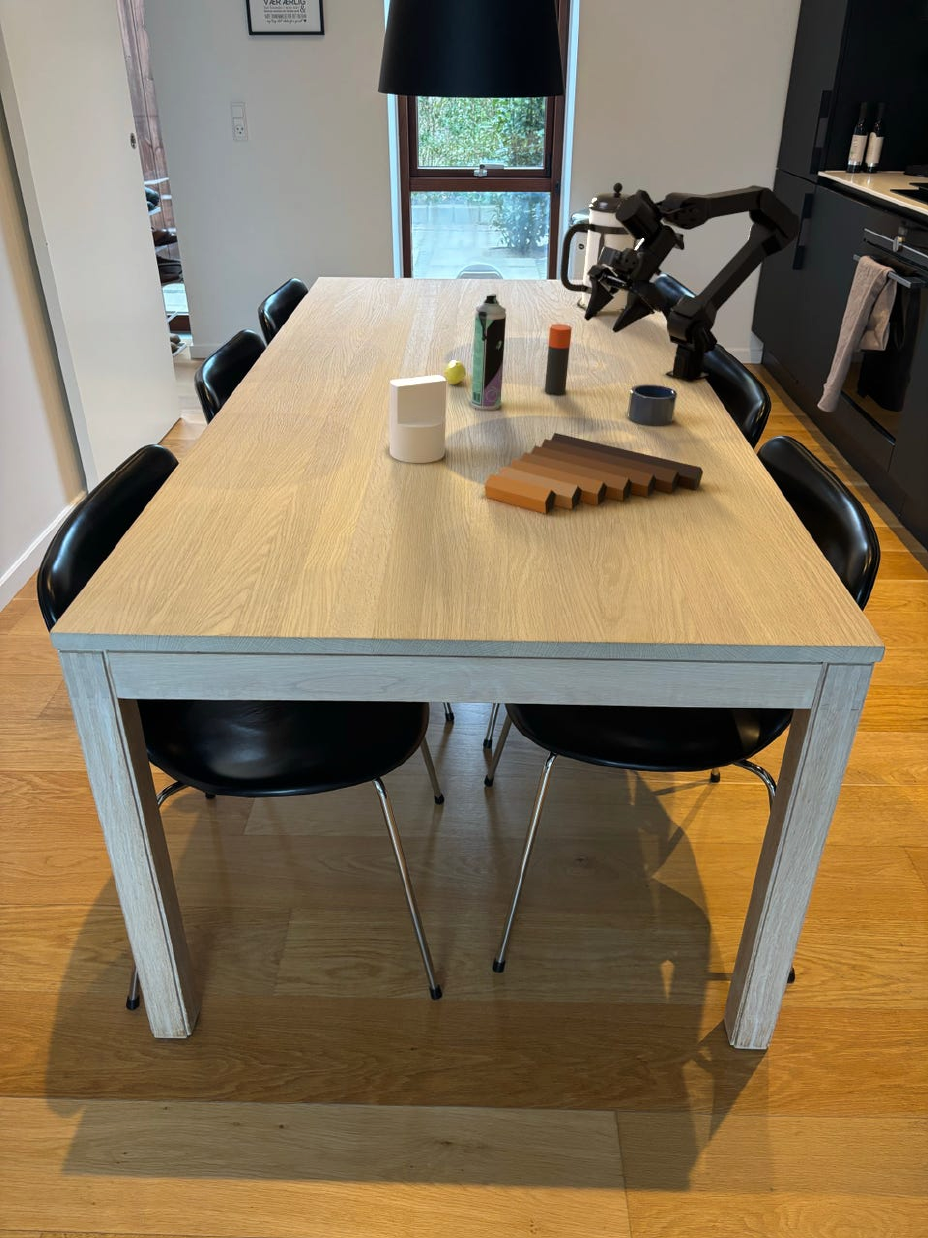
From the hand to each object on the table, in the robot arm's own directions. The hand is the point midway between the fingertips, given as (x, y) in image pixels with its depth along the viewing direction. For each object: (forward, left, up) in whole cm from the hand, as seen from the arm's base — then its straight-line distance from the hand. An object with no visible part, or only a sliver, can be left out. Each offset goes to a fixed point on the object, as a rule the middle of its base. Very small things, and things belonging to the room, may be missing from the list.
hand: (599, 325), depth 184 cm
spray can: (+24, -7, -13) cm, 28 cm away
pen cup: (+5, +17, -12) cm, 22 cm away
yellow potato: (+18, -21, -13) cm, 30 cm away
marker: (+7, -4, -12) cm, 15 cm away
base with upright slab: (+50, +2, -13) cm, 51 cm away
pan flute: (+40, +31, -13) cm, 52 cm away
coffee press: (-52, -38, -13) cm, 66 cm away
